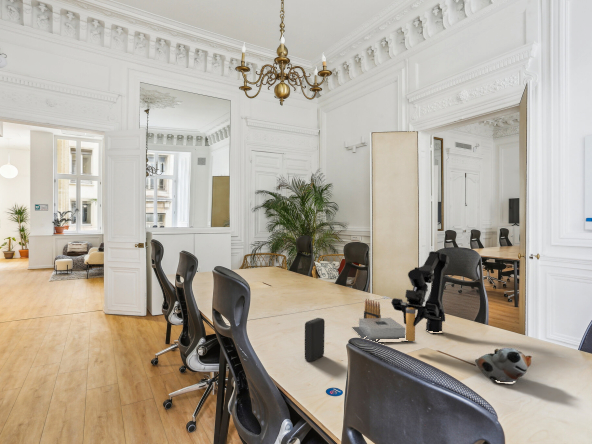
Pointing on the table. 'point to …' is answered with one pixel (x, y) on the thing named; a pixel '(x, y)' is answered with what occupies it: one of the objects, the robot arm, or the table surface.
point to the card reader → (314, 339)
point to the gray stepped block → (379, 329)
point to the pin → (410, 323)
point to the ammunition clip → (372, 309)
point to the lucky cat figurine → (504, 364)
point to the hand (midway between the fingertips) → (409, 324)
